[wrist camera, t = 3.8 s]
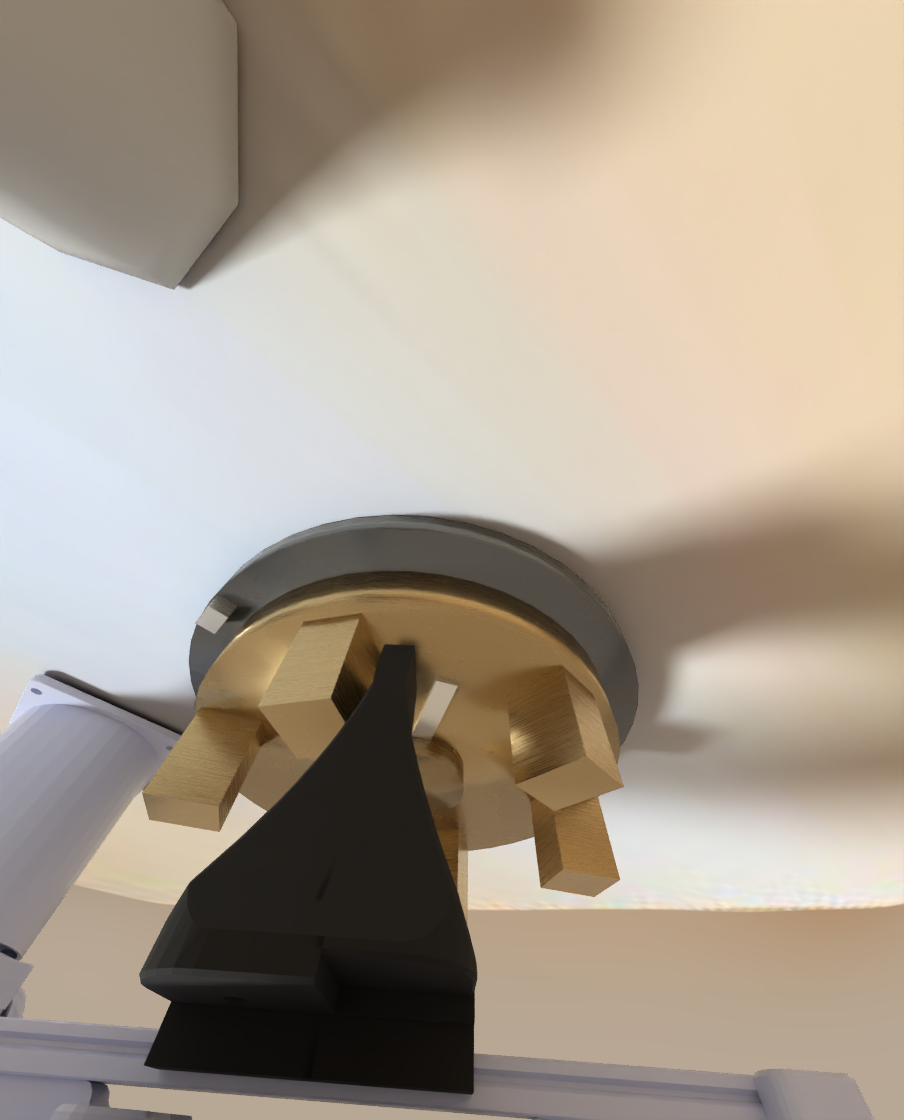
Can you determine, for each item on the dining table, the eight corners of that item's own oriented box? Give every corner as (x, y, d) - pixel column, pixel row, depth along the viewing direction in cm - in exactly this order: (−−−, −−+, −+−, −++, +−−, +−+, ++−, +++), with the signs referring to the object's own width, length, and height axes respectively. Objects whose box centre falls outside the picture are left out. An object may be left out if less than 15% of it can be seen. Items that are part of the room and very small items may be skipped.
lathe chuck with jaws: (513, 834, 24) (523, 948, 20) (223, 778, 22) (162, 894, 18) (691, 642, 15) (783, 779, 10) (216, 508, 12) (80, 612, 8)
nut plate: (433, 831, 28) (430, 862, 26) (140, 696, 20) (112, 728, 19) (713, 703, 19) (736, 738, 17) (375, 386, 12) (361, 397, 10)
